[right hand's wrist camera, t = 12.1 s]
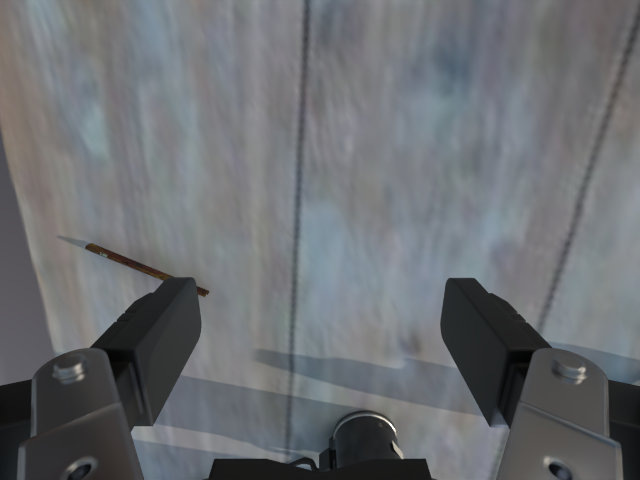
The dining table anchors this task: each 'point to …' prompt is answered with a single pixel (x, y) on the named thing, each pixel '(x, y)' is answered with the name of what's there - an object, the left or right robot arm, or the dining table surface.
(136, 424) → the right robot arm
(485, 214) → the dining table surface
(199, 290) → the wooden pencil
